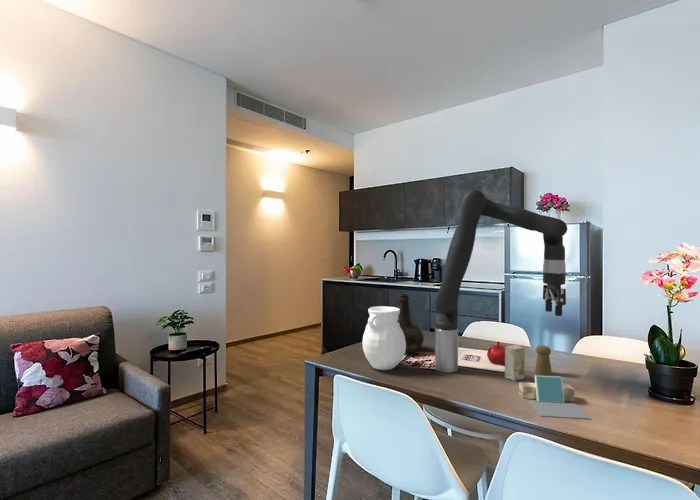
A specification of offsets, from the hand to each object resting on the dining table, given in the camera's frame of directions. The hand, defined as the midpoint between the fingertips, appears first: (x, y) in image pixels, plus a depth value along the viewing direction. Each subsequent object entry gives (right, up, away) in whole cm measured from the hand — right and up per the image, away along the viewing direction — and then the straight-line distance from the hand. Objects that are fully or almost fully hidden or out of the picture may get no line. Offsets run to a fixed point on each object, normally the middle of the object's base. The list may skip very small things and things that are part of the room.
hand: (553, 313), depth 137 cm
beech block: (-12, -26, -16) cm, 32 cm away
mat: (-13, -26, -26) cm, 39 cm away
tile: (-12, -26, -19) cm, 34 cm away
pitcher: (-64, -26, +16) cm, 70 cm away
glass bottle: (-51, -26, +39) cm, 69 cm away
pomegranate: (-12, -26, +21) cm, 35 cm away
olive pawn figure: (0, -26, +7) cm, 26 cm away
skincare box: (-14, -26, +2) cm, 29 cm away
